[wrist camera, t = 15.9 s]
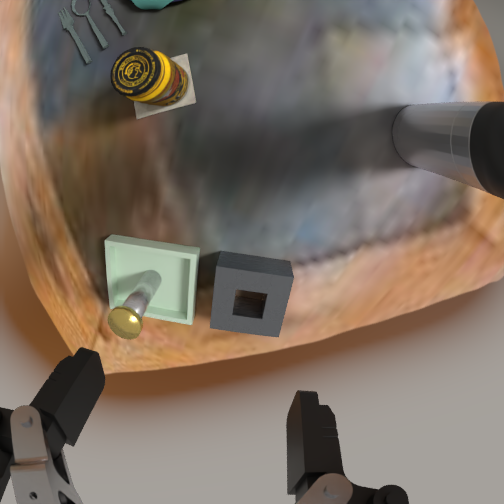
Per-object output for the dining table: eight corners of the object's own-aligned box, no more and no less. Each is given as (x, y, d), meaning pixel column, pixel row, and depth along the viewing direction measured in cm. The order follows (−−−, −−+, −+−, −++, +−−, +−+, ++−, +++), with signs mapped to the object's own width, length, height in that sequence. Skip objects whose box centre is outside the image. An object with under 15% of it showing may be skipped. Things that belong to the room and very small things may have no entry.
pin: (166, 268, 43) (139, 314, 32) (165, 293, 45) (141, 342, 34) (139, 263, 43) (105, 306, 32) (139, 288, 44) (109, 335, 33)
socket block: (290, 261, 43) (293, 277, 38) (276, 317, 47) (278, 337, 42) (220, 250, 42) (216, 266, 38) (214, 308, 46) (209, 328, 42)
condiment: (196, 102, 34) (170, 91, 23) (137, 119, 35) (93, 118, 24) (187, 53, 32) (159, 26, 21) (129, 72, 32) (84, 56, 21)
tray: (200, 247, 42) (196, 254, 40) (194, 315, 47) (191, 325, 45) (111, 234, 42) (104, 240, 39) (115, 300, 46) (110, 308, 44)
